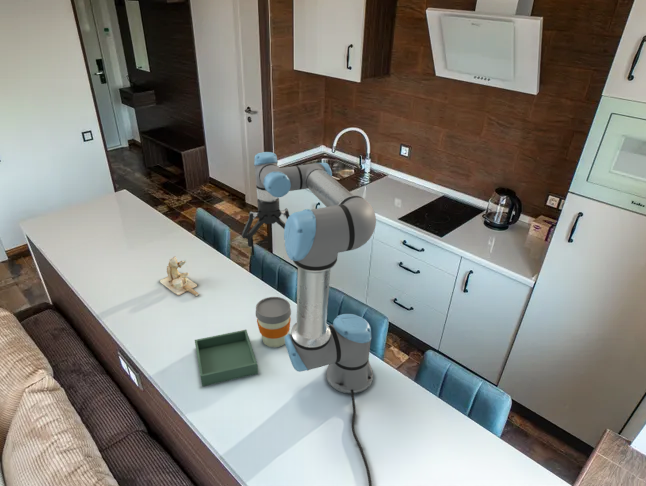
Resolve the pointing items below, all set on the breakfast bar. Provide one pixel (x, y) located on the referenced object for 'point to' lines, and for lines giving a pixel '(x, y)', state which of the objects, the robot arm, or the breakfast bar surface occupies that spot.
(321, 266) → the robot arm
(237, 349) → the green square tray
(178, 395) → the breakfast bar surface
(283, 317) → the reusable coffee cup
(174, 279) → the wooden toy
